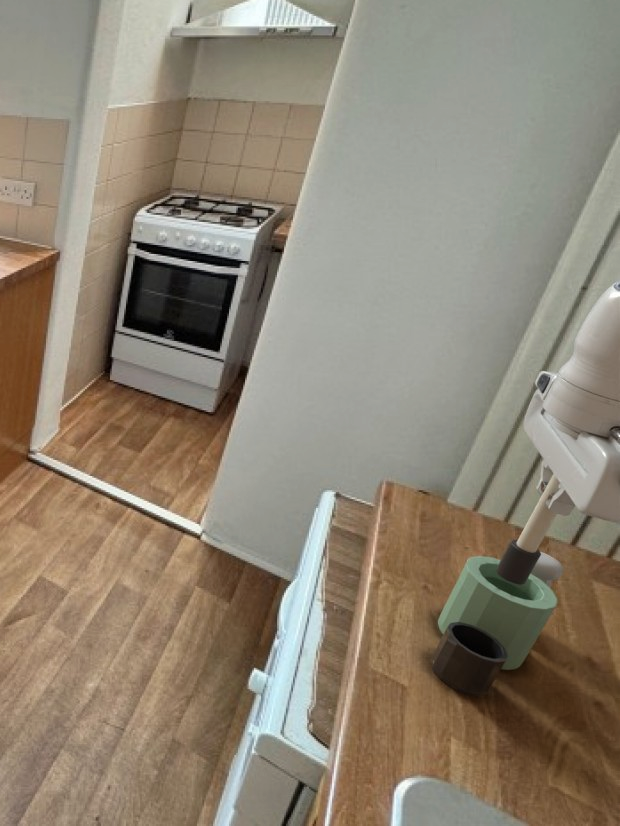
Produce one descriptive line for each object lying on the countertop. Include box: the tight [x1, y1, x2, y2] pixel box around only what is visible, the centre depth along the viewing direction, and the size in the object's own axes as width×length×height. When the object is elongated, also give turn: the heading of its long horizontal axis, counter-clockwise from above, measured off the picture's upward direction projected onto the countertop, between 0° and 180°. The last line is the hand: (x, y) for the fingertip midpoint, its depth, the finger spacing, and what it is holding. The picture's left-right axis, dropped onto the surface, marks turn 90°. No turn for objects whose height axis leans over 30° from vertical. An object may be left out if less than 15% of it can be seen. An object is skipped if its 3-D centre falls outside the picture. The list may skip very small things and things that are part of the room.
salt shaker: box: [531, 551, 564, 589], centre depth 91 cm, size 6×6×13 cm
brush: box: [496, 474, 560, 585], centre depth 76 cm, size 3×3×17 cm
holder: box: [430, 622, 508, 698], centre depth 83 cm, size 6×6×7 cm
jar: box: [437, 555, 559, 671], centre depth 88 cm, size 9×9×12 cm
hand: (551, 503), depth 75 cm, fingers closed on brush, 2 cm apart
